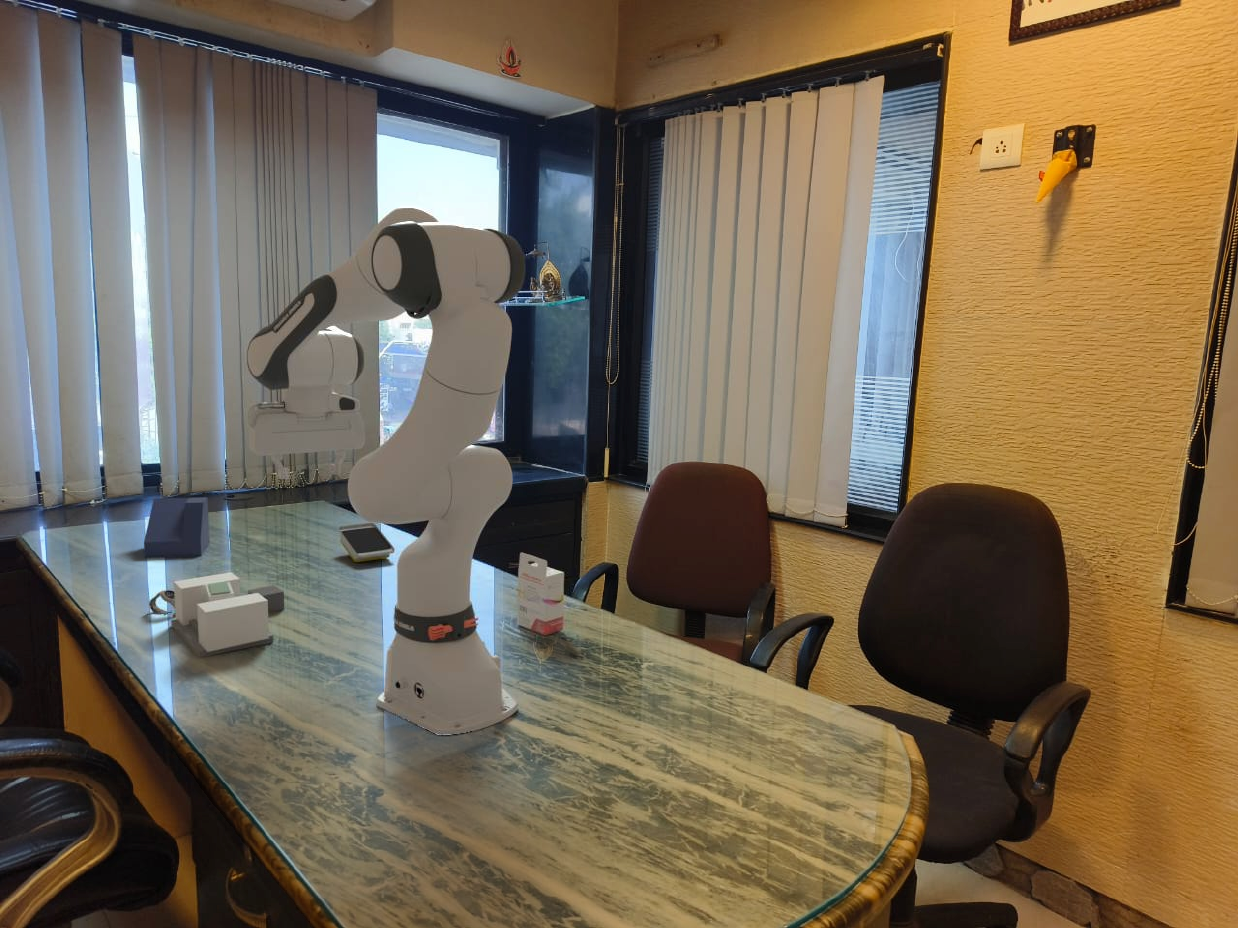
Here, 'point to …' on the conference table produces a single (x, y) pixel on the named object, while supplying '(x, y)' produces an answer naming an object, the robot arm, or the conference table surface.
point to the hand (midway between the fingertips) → (310, 476)
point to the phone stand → (177, 528)
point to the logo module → (218, 591)
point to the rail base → (219, 617)
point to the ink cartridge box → (539, 596)
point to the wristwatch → (166, 596)
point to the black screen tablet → (365, 542)
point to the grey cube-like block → (271, 597)
